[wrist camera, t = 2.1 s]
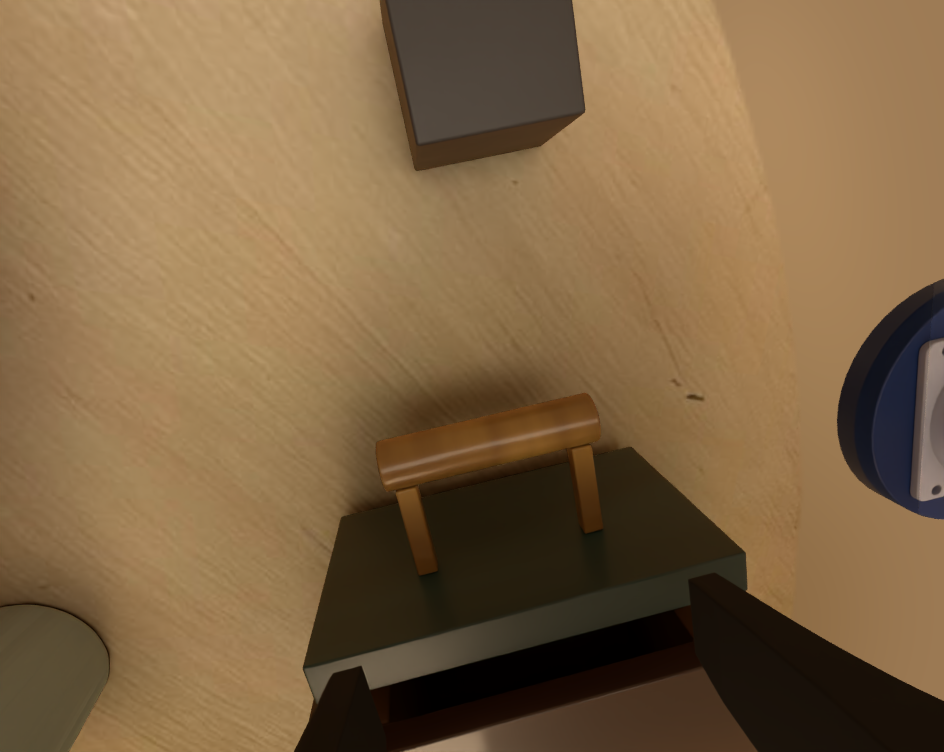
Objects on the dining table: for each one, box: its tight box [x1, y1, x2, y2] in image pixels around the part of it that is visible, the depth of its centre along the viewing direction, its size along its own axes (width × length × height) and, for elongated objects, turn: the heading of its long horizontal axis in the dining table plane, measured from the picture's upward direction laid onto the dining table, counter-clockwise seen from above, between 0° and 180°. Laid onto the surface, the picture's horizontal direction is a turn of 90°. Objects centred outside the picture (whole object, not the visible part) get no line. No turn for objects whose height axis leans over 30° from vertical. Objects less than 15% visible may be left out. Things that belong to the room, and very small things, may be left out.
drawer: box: [303, 393, 747, 726], centre depth 17 cm, size 18×11×7 cm, turn 11°
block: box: [380, 0, 585, 171], centre depth 14 cm, size 4×4×4 cm
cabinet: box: [309, 641, 758, 752], centre depth 18 cm, size 15×13×9 cm
